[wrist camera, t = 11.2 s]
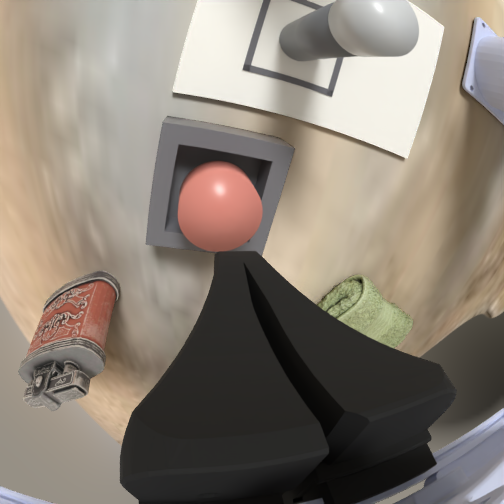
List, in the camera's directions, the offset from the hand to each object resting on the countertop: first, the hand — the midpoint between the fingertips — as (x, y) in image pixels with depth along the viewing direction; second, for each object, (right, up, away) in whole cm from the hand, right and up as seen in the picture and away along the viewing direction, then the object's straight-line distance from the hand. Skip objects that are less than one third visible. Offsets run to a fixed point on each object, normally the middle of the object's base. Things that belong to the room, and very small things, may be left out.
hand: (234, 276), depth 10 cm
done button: (-1, +4, +6) cm, 7 cm away
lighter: (-13, -3, +11) cm, 18 cm away
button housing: (-2, +5, +9) cm, 10 cm away
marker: (+3, +13, +4) cm, 14 cm away
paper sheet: (+6, +14, +5) cm, 16 cm away
